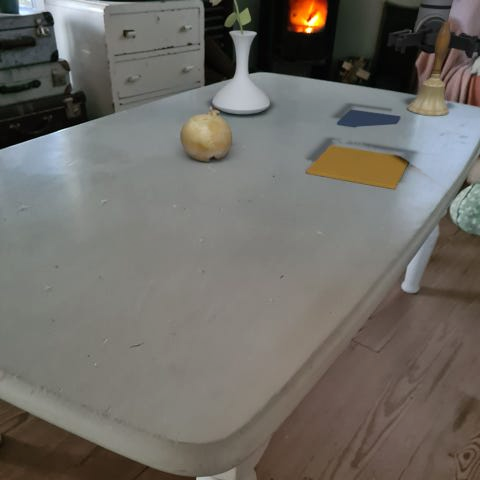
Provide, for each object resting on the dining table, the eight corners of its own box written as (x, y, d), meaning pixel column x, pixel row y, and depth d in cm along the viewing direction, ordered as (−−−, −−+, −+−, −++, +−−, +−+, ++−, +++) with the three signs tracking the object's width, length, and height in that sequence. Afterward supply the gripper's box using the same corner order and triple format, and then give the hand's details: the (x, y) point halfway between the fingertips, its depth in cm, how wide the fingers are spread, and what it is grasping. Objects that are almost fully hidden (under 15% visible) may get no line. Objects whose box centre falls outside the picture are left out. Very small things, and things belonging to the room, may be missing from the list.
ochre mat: (394, 189, 72) (395, 186, 72) (306, 173, 76) (306, 170, 76) (409, 160, 82) (410, 157, 82) (330, 148, 86) (331, 145, 86)
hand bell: (425, 117, 102) (447, 25, 93) (398, 107, 108) (416, 19, 99) (457, 113, 105) (481, 24, 96) (429, 103, 111) (449, 18, 102)
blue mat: (390, 132, 94) (390, 129, 94) (336, 124, 97) (337, 121, 97) (400, 118, 101) (400, 116, 101) (350, 111, 104) (350, 109, 104)
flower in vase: (238, 100, 109) (241, -44, 94) (281, 111, 103) (291, -41, 88) (194, 112, 101) (190, -44, 86) (238, 124, 95) (242, -41, 80)
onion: (228, 167, 77) (229, 118, 73) (176, 164, 78) (174, 115, 74) (234, 150, 84) (235, 104, 80) (186, 147, 84) (184, 101, 80)
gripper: (482, 55, 124) (495, 73, 107) (376, 47, 129) (373, 63, 112) (492, 19, 120) (507, 32, 103) (382, 12, 124) (379, 24, 107)
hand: (437, 48), depth 107 cm, fingers open, 13 cm apart
